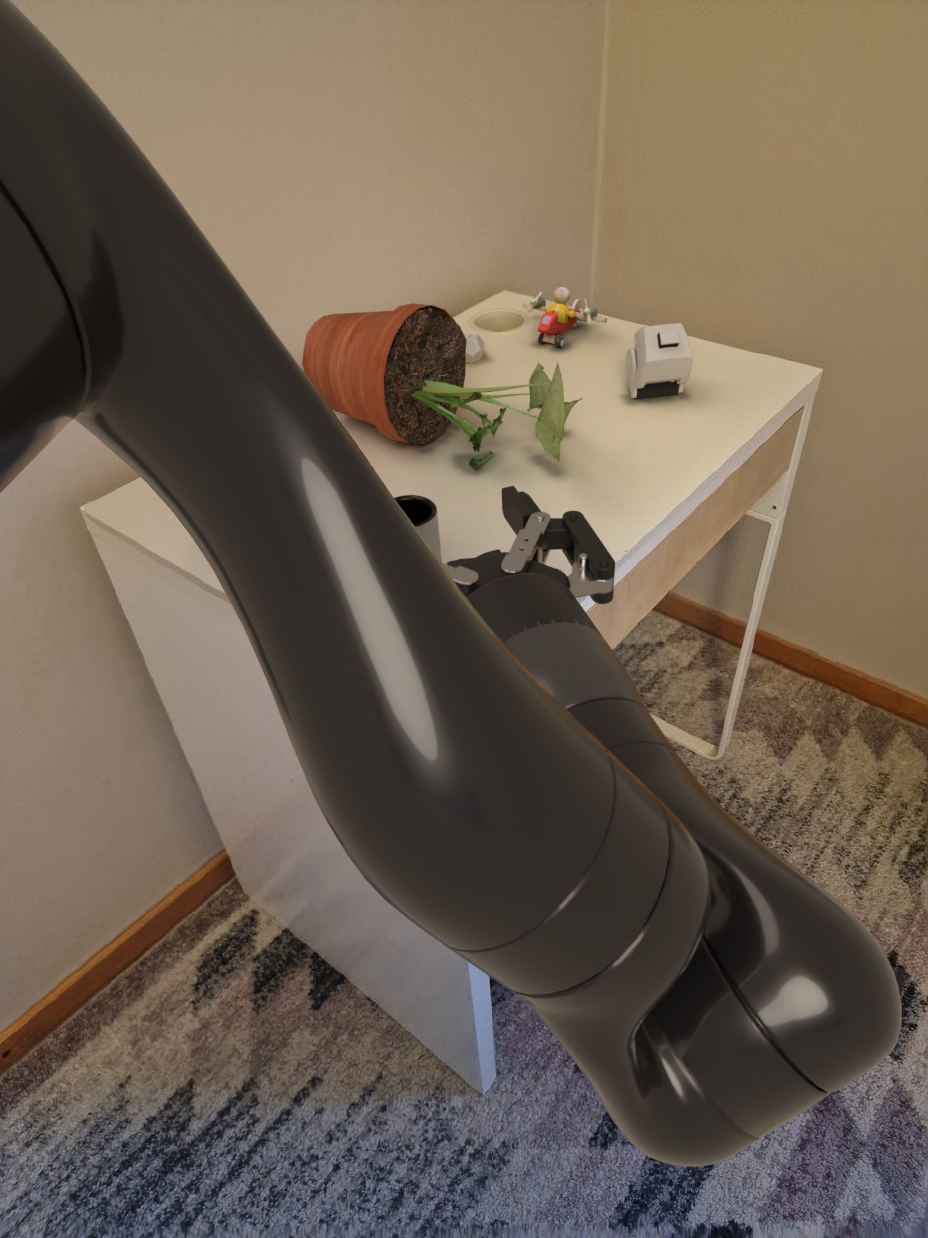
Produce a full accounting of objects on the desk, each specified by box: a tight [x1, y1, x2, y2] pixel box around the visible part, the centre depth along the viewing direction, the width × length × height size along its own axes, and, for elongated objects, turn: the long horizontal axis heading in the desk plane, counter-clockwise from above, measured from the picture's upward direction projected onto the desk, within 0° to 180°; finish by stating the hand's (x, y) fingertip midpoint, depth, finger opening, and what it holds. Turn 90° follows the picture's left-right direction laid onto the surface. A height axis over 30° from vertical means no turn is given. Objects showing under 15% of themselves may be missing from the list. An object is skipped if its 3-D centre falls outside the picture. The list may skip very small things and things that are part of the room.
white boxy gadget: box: [625, 322, 695, 400], centre depth 96 cm, size 6×7×10 cm
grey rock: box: [464, 332, 486, 364], centre depth 107 cm, size 4×4×3 cm
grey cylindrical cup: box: [394, 494, 443, 563], centre depth 68 cm, size 4×4×10 cm
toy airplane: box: [522, 286, 608, 349], centre depth 110 cm, size 9×9×6 cm
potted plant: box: [301, 303, 583, 470], centre depth 87 cm, size 16×15×35 cm
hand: (441, 514), depth 53 cm, fingers open, 8 cm apart
